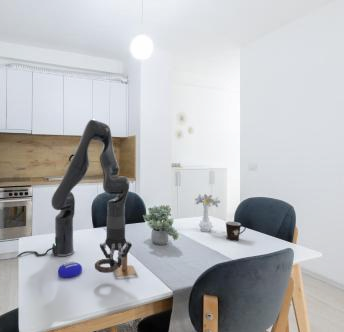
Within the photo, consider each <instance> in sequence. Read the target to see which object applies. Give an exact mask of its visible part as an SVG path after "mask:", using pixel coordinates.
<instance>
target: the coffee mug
mask: <svg viewBox="0 0 344 332" xmlns="http://www.w3.org/2000/svg"><path fill="white" fill-rule="evenodd" d="M241 227H243V228H244V229H243V230H242V231H241ZM225 228H226V229H225V230H226V238H227V239H226V240H229V241H233V242H238V241H239V239H240V235H241V234H243V233H244V232H245V231H246V225H244V224H242V223H240V222H237V221H230V220H229V221H225Z"/></svg>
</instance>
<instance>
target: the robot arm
mask: <svg viewBox="0 0 344 332" xmlns="http://www.w3.org/2000/svg"><path fill="white" fill-rule="evenodd" d="M92 141H95V142H98V143H100V144H101V146H102V150H101V152H100V154H99V163H100V167H101V170H102V176H103V179H102V180H103V181H102V189H103V191H104V193H106V194H107V195H116V197H115V198H112V199H110V200H108V201H107V204H106V205H107V207H106V209H107V211H106V212H107V213H106V239H105V241H104V242H103V243H101V242H100V243H99V249H100V250H101V252H102V253H103V256H104V257H105V259H110V264H109V267H111V266H113V265H114V260H115V259H114V254H115V251H117V255H118V256H117V262H118V265H119V267H118V268H120V266H122V258H123V257H126V256H127V257H128V254H129V251H130V250H131V248H132V246H133V244H132V242H131V241H128V240H127V239H126V215H125V214H126V202H127V198H128V194H129V191H130V181H129V179H128V178H127V176H124V175H120V176H117V175H118V174H119V173H120V166H119V164H118V161H117V157H116V155H115V151H114V150H115V149H114V145H113V144H114V143H113V138H112V131H111V128H110V126H109V125H108V124H107V123H105V122H102V121H100V120H97V119H90V120H89V121H87V123H86V125H85V127H84V130H83V132H82V135H81V137H80V141H79V144H78V145H77V148H76V150H75V152H74V154H73V156H72V158H71V160H70V162H69V164H68V166H67V169H66V171H65V173H64V175H63V177H62V179H61V181H60V182H59V185H58V187H57V188H56V190H55V191H54V193H53V194H52V197H51V200H50V201H51V203H50V204H51V206H52V209H54V210H56V211H59V213H57V215H55V217H54V223H55V224H54V229H55V232H54V233H55V235H54V243H52V247H50V248H48V249H47V250H46V251H45V252H44V253H38V252H37V251H33V250H27V251H23V252H20V253H19V254H18V255H17V256H16V258H19V257H21V256H22V255H24V254H35V255H36V256H38V257H40V256H41V257H42V256H46V255H47V254H48V252H49V251H51V254H54V256H55V257H56V256H57V257H68V256H71V255H72V254H74V217H75V208H76V207H75V206H76V199H75V195H74V194H73V192H72V190H73V189H74V188H75V187H76V186H77V185H78V184H79V183H80V182H81V181H82V180H83V179H84V177H85V176H86V174H87V172H88V170H89V168H90V165H91V164H90V156H89V148H90V144H91V143H92ZM107 247H108V249H109V253H108V251H107V250H106V248H107ZM122 248H125V249H124V251H123V253H122Z"/></svg>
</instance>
